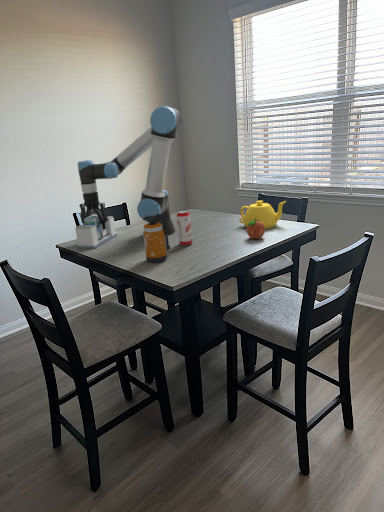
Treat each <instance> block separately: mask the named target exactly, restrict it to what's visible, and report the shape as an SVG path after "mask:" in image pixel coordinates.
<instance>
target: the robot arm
mask: <svg viewBox="0 0 384 512" xmlns="http://www.w3.org/2000/svg"><path fill="white" fill-rule="evenodd" d="M182 119H183V118H182V115H181V113H180V111H179V110H178V109H177V108H175V107H173V106H168V105H161V106H158V107H157V108H155V109H154V110H153V111H152V112H151V115H150V120H149V122H150V127H149V128H148V129H147V130H145V132H143V133H142V134H140V136H139V137H137V138H136V139H135V140H134V141H132V143H130V144H129V145H128V146H127V147H126V148H124V149H123V150H122V151H121V152H120V153H119V154H118V155H116V157H114V158H113V159H112V160H110V161H108V162H104V163H94V162H93V160H92V159H89V160H88V159H87V160H80V161H78V162H77V172H78V176H79V181H80V187H81V192H82V199H83V203H80V204H79V208H80V216H81V224H85V222H84V219H85V218H87V217H89V216H91V215H92V211H93V212H94V213H95V214H97V216H98V217H99V220H100V222H101V224H100V227H101V233H102V236H105V235H106V233H105V229H106V225H105V223H106V222H107V221H108V217H107V216H108V213H107V209H106V203H105V202H100V201H99V198H100V197H99V192H98V187H97V181H96V180H112V179H116V178H118V177H119V175H121V174H122V173H123V172H124V170H126V169H127V168H128V167H129V166H130V165H131V164H132V163H134V162H135V161H137V160H138V159H139V158H140V157H141V156H142V155H144V154H145V153H146V152H147V151H148V150H150V149H151V151H150V158H149V163H148V164H149V165H148V171H147V176H146V183H145V188H144V189H143V190H142V191H141V194H140V195H141V197H140V201H139V202H138V205H137V207H136V212H137V214H138V216H139V217H140V219H142V220H143V218H144V217H145V216H146V215H148V216H149V215H156V214H160V215H162V216H164V217H166V218H168V221H167V230H168V231H167V233H168V235H171V234H174V233H175V232H176V227H175V224H174V223H173V220H172V217H171V209H170V201H169V192H168V191H167V190H165V189H164V187H165V181H166V175H167V170H168V164H169V156H170V152H171V147H172V142H174V141H175V139H176V136H177V135H176V134H177V131H178V130H179V129H180V127H181V125H182ZM160 219H161V218H160ZM161 220H163V219H161ZM145 221H146V220H145ZM163 221H165V220H163ZM162 228H163V230H164V225H163V224H162ZM164 234H165V230H164Z"/></svg>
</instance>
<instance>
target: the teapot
mask: <svg viewBox="0 0 384 512" xmlns="http://www.w3.org/2000/svg"><path fill="white" fill-rule="evenodd" d="M286 202H287V201H286V200H284V201H282V202H279V204H278V208H277V212H275V209H274V208H273V207H272V206H271V205H272V204H269V203H267V202H264V200H256V202H255V203H252V204H249V206H248V205H243V206H241V208H240V211H239V213H240V216H241V217H239V218H238V220H239V223H240V224H243V226H244V227H245V228H247V226H248V224H249V222H251V221H254V220H255V218H256V220H260V221H261V222H262V223H263V224H264V226H265V230H269V229H273V228H274V227H275V226H276V225H277V223H278V221H279V220H281V217H282V213H283V205H284V204H285V203H286ZM244 209H246V211H245V213H244V211H243V210H244Z"/></svg>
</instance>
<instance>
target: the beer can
mask: <svg viewBox="0 0 384 512" xmlns="http://www.w3.org/2000/svg"><path fill="white" fill-rule="evenodd" d="M176 221H177V222H176V223H177V224H176V225H177V231H178V233H177V234H178V243H179V245H180V246H182V247H187V246H191V245H192V243H193V234H192V225H191V214H190V212H189V210H179V211H177V214H176Z"/></svg>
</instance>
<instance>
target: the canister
mask: <svg viewBox="0 0 384 512" xmlns="http://www.w3.org/2000/svg"><path fill="white" fill-rule="evenodd" d="M160 218H161V219H163V220H165V221H163V220H161V219H160ZM142 220H143V221H145V220H146V223H145V224H144V226H143V232H142V236H143V243H144V252H145V258H146V261H147V262H151V263H159V262H163V261H164V260H166V259H167V258H168V254H167V253H168V251H169V250H170V249H171V245H170V242H169V236H168V233H167V231H168V230H167V221H168V218H166V217H164V216H162V215H160V214H156V215H149V216H148V215H146V216H145V217H144V218H143V219H142ZM162 224H163V225H164V230H165V234H164V230H163V228H162Z"/></svg>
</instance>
